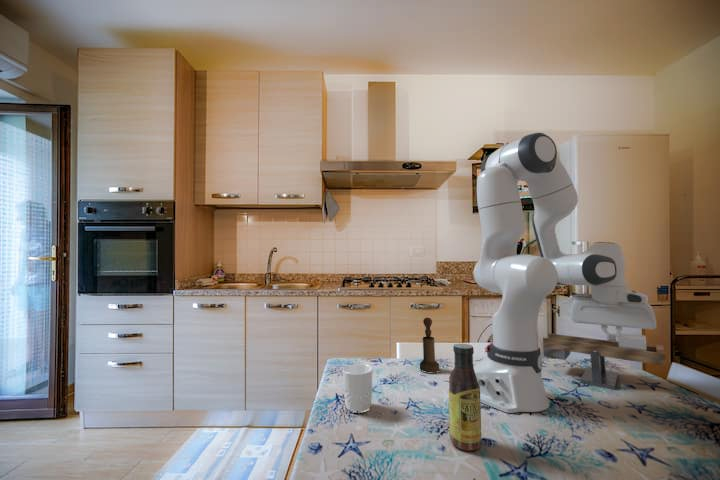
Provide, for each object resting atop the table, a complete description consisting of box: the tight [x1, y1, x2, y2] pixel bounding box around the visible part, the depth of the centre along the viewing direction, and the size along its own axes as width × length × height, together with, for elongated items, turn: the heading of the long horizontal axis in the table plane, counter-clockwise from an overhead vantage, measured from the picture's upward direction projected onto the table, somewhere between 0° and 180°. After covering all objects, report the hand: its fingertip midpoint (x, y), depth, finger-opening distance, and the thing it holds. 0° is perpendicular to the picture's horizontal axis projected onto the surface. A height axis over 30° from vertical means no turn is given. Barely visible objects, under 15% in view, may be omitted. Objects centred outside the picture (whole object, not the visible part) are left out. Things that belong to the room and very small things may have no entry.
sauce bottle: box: [448, 343, 482, 452], centre depth 65 cm, size 7×6×20 cm
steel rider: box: [617, 332, 647, 351], centre depth 91 cm, size 6×6×4 cm
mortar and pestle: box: [419, 317, 440, 372], centre depth 108 cm, size 7×6×18 cm
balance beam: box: [542, 332, 667, 367], centre depth 96 cm, size 29×10×7 cm, turn 47°
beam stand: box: [579, 351, 619, 390], centre depth 96 cm, size 8×14×10 cm, turn 137°
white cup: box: [342, 363, 373, 411], centre depth 81 cm, size 8×8×10 cm
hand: (612, 340), depth 94 cm, fingers closed
